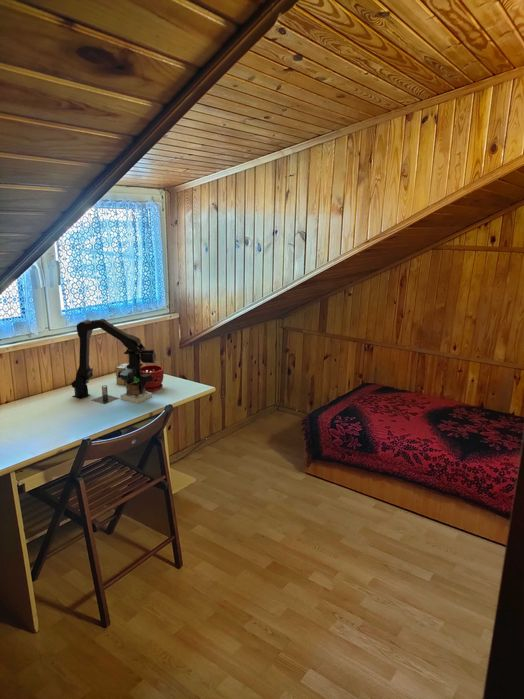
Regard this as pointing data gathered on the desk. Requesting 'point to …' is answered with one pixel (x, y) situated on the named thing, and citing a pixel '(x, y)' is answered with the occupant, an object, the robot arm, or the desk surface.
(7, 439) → the desk surface
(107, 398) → the grey post on plate
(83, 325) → the robot arm
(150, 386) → the plant pot
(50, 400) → the desk surface
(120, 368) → the puzzle cube
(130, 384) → the wooden shaft bracket
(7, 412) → the desk surface
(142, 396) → the tray
